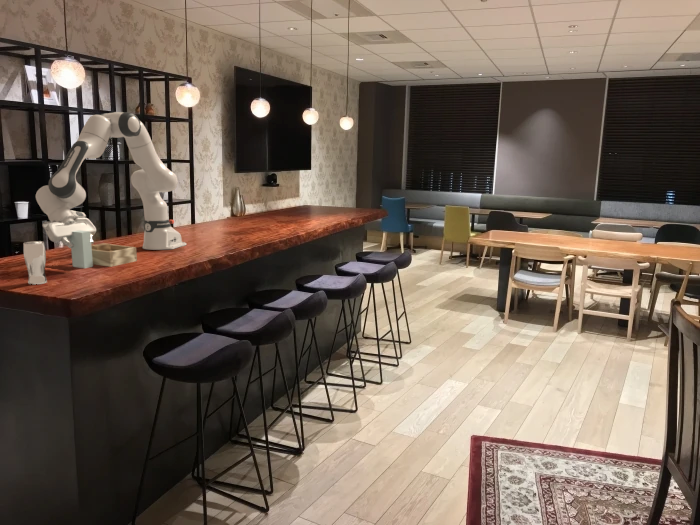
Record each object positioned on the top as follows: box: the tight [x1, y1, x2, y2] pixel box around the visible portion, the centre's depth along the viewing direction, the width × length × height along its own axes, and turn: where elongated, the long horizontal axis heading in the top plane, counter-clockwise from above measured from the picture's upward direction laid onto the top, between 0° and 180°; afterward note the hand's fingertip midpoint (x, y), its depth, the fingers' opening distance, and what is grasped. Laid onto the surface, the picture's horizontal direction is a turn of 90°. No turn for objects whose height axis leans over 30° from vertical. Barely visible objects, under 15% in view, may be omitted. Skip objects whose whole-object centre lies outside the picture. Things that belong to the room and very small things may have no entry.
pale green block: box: [69, 230, 94, 269], centre depth 229 cm, size 4×7×15 cm, turn 65°
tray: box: [92, 243, 138, 268], centre depth 240 cm, size 14×18×7 cm
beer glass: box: [23, 240, 48, 286], centre depth 205 cm, size 7×7×15 cm
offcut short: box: [91, 242, 111, 251], centre depth 242 cm, size 7×4×3 cm, turn 155°
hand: (82, 245), depth 228 cm, fingers open, 8 cm apart
